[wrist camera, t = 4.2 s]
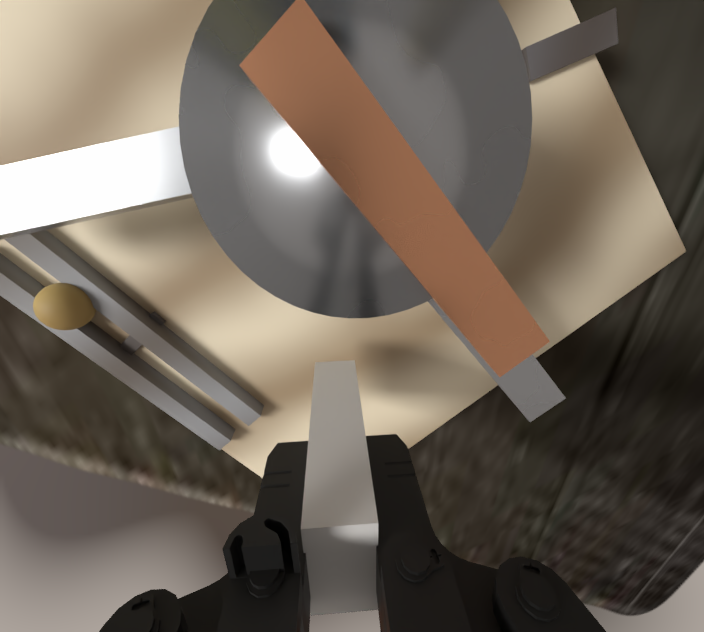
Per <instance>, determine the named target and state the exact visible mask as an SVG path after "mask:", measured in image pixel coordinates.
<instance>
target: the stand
mask: <svg viewBox="0 0 704 632" xmlns="http://www.w3.org/2000/svg"><path fill="white" fill-rule="evenodd" d="M212 1H213V0H0V166H3V165H8V164H12V163H17V162H21V161H26V160H30V159H35V158H39V157H44V156H48V155H53V154H57V153H62V152H66V151H71V150H75V149H80V148H84V147H89V146H93V145H98V144H102V143H107V142H111V141H116V140H120V139H125V138H129V137H134V136H138V135H143V134H147V133H152V132H156V131H161V130H165V129H170V128H174V127H179V104H180V90H181V84H182V79H183V74H184V69H185V64H186V59H187V56H188V53H189V51H190V48H191V45H192V42H193V39H194V36H195V33H196V31H197V29H198V27H199V25H200V23H201V21H202V19H203V17H204V15H205V13H206V11H207V9H208V7H209V5H210V4H211V3H212ZM498 2H499V3H500V5H501V6H502V8H503V10H504V11H505V13H506V14H507V16H508V19H509V21H510V23H511V25H512V27H513V30H514V32H515V34H516V36H517V39H518V41H519V44H520V48H521V51H522V54H523V57H524V61H525V64H526V68H527V73H528V79H529V85H530V91H531V103H532V134H531V147H530V153H529V158H528V164H527V170H526V173H525V177H524V180H523V184H522V187H521V190H520V193H519V196H518V198H517V201H516V203H515V206H514V208H513V210H512V213H511V215H510V217H509V219H508V220H507V222H506V224H505V226H504V228H503V230H502V231H501V233H500V235H499V236H498V238H497V239H496V240H495V242H494V243H493V245H492V246H491V248H490V249H489V250H488V252H487V254H488V256H489V257H490V259H491V260H492V261H493V263H494V264H495V266H496V267H497V268H498V270H499V271H500V273H501V274H502V275H503V277H504V278H505V279H506V281H507V282H508V284H509V285H510V286H511V288H512V289H513V291H514V292H515V293H516V295H517V296H518V298H519V299H520V300H521V302H522V303H523V304H524V306H525V307H526V309H527V310H528V311H529V313H530V314H531V316H532V317H533V318H534V320H535V321H536V323H537V324H538V325H539V327H540V328H541V330H542V331H543V332H544V334H545V335H546V336H547V338H548V339H549V341H550V342H549V343H547V344H546V345H545V346H543V347H542V348H540V349H539V350H538V351H536V352H535V353H533V356H534V357H535V358H537V357H538V356H540V355H541V354H542V353H544V352H545V351H547V350H548V349H549V348H551V347H552V346H554V345H555V344H556V343H558V342H559V341H561V340H562V339H564V338H565V337H566V336H568V335H569V334H571V333H572V332H573V331H575V330H576V329H578V328H579V327H580V326H582V325H583V324H585V323H586V322H587V321H589V320H590V319H592V318H593V317H594V316H596V315H597V314H599V313H600V312H601V311H603V310H604V309H606V308H607V307H609V306H610V305H611V304H613V303H614V302H616V301H617V300H618V299H620V298H621V297H623V296H624V295H625V294H627V293H628V292H630V291H631V290H632V289H634V288H635V287H637V286H638V285H639V284H641V283H642V282H644V281H645V280H646V279H648V278H649V277H651V276H652V275H654V274H655V273H656V272H658V271H659V270H661V269H662V268H663V267H665V266H666V265H668V264H669V263H670V262H672V261H673V260H675V259H676V258H677V257H679V256H680V255H682V254H683V253H684V252H686V250H685V247H684V245H683V243H682V241H681V239H680V237H679V234H678V232H677V230H676V228H675V226H674V224H673V222H672V219H671V217H670V215H669V213H668V211H667V209H666V206H665V204H664V202H663V200H662V198H661V196H660V194H659V191H658V189H657V187H656V185H655V183H654V181H653V178H652V176H651V174H650V172H649V170H648V168H647V166H646V163H645V161H644V159H643V157H642V155H641V153H640V150H639V148H638V146H637V144H636V142H635V140H634V138H633V135H632V133H631V131H630V129H629V127H628V125H627V122H626V120H625V118H624V116H623V114H622V112H621V110H620V107H619V105H618V103H617V101H616V99H615V97H614V94H613V92H612V90H611V88H610V86H609V84H608V81H607V79H606V77H605V75H604V73H603V71H602V69H601V66H600V64H599V62H598V60H597V58H596V56H595V54H596V53H598V52H600V51H603V50H605V49H607V48H610V47H612V46H614V45H616V44H618V30H617V15H616V8H614V9H611V10H609V11H607V12H605V13H602V14H600V15H598V16H595V17H593V18H591V19H589V20H586V21H584V22H582V23H580V21H579V19H578V17H577V15H576V13H575V10H574V8H573V6H572V4H571V2H570V0H498ZM0 296H2V297H3V298H5V299H6V300H8V301H9V302H10V303H12V304H13V305H15V306H16V307H17V308H19V309H20V310H22V311H23V312H25V313H26V314H27V315H29V316H30V317H32V318H33V319H34V320H36V321H37V322H39V323H40V324H41V325H43V326H44V327H46V328H47V329H49V330H50V331H51V332H53V333H54V334H56V335H57V336H58V337H60V338H61V339H63V340H64V341H65V342H67V343H68V344H70V345H71V346H73V347H74V348H75V349H77V350H78V351H80V352H81V353H82V354H84V355H85V356H87V357H88V358H89V359H91V360H92V361H94V362H95V363H97V364H98V365H99V366H101V367H102V368H104V369H105V370H106V371H108V372H109V373H111V374H112V375H113V376H115V377H116V378H118V379H119V380H121V381H122V382H123V383H125V384H126V385H128V386H129V387H130V388H132V389H133V390H135V391H136V392H137V393H139V394H140V395H142V396H143V397H145V398H146V399H147V400H149V401H150V402H152V403H153V404H154V405H156V406H157V407H159V408H160V409H162V410H163V411H164V412H166V413H167V414H169V415H170V416H171V417H173V418H174V419H176V420H177V421H178V422H180V423H181V424H183V425H184V426H186V427H187V428H188V429H190V430H191V431H193V432H194V433H195V434H197V435H198V436H200V437H201V438H202V439H204V440H205V441H207V442H208V443H210V444H211V445H212V446H214V447H215V448H217V449H218V450H221V449H222V450H224V451H225V452H227V453H228V454H229V455H231V456H232V457H234V458H235V459H236V460H238V461H239V462H241V463H242V464H243V465H245V466H246V467H248V468H249V469H250V470H252V471H253V472H255V473H256V474H257V475H259V476H260V477H262V478H263V475H264V470H265V466H266V461H267V457H268V455H269V454H270V453H271V451H272V450H273V449H274V447H275V446H276V445H277V443H282V442H297V441H308V438H309V427H310V415H311V404H312V392H313V380H314V369H315V362H330V361H349V360H355V366H356V373H357V380H358V387H359V394H360V400H361V407H362V414H363V421H364V428H365V435H366V436H372V435H388V434H397V435H398V436H399V437H400V439H401V440H402V441H403V442H404V443H405V444H406V445H407V448H408V449H409V448H410V447H412V446H413V445H414V444H416V443H417V442H419V441H420V440H421V439H423V438H424V437H426V436H427V435H428V434H430V433H431V432H433V431H434V430H436V429H437V428H438V427H440V426H441V425H443V424H444V423H445V422H447V421H448V420H450V419H451V418H452V417H454V416H455V415H457V414H458V413H459V412H461V411H462V410H464V409H465V408H466V407H468V406H469V405H471V404H472V403H474V402H475V401H476V400H478V399H479V398H481V397H482V396H483V395H485V394H486V393H488V392H489V391H490V390H492V389H493V388H495V387H496V386H497V385H498V384H497V383H496V382H495V381H494V379H493V378H492V377H491V376H490V375H489V374H488V372H487V371H486V370H485V369H484V368H483V366H482V365H481V364H480V363H479V362H478V361H477V359H476V358H475V357H474V356H473V355H472V353H471V352H470V351H469V350H468V349H467V348H466V346H465V345H464V344H463V343H462V342H461V340H460V339H459V338H458V337H457V336H456V335H455V333H454V332H453V331H452V330H451V329H450V327H449V326H448V325H447V324H446V323H445V322H444V320H443V319H442V318H441V317H440V316H439V314H438V313H437V312H436V311H435V310H434V309H433V307H432V306H431V305H430V304H429V303H428V301H427V302H425V303H423V304H420V305H418V306H415V307H413V308H411V309H408V310H405V311H401V312H398V313H394V314H391V315H386V316H379V317H372V318H340V317H331V316H326V315H322V314H317V313H313V312H310V311H307V310H304V309H301V308H298V307H296V306H293V305H291V304H289V303H287V302H285V301H283V300H281V299H279V298H277V297H275V296H274V295H272V294H270V293H269V292H267V291H266V290H264V289H263V288H261V287H260V286H258V285H257V284H256V283H255V282H254V281H252V280H251V279H250V278H249V277H248V276H246V275H245V274H244V273H243V272H242V271H241V270H240V269H239V268H238V267H237V266H236V265H235V264H234V263H233V262H232V261H231V259H230V258H229V257H228V256H227V255H226V254H225V252H224V251H223V250H222V248H221V247H220V246H219V244H218V243H217V242H216V240H215V239H214V237H213V236H212V234H211V232H210V231H209V229H208V227H207V225H206V224H205V222H204V220H203V218H202V217H201V214H200V212H199V210H198V207H197V205H196V203H195V200H194V198H189V199H185V200H180V201H175V202H171V203H166V204H162V205H157V206H153V207H148V208H143V209H139V210H134V211H130V212H125V213H121V214H116V215H112V216H107V217H102V218H98V219H93V220H89V221H84V222H80V223H75V224H70V225H66V226H61V227H57V228H52V229H48V230H43V231H39V232H34V233H29V234H25V235H20V236H16V237H11V238H7V239H2V240H0Z"/></svg>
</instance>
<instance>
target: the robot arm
mask: <svg viewBox="0 0 704 632" xmlns="http://www.w3.org/2000/svg"><path fill="white" fill-rule="evenodd" d="M223 553H224V556H225V561H226V565H227V569H228V573H227V574H226V575H225V576H224V577H222V578H221V579H220V580H218V581H216V582H215V583H213V584H211V585H209V586H207V587H205V588H203V589H200V590H198V591H196V592H193V593H191V594H189V595H186V596H184V597H182V598H179V599H177V597H176V595H175V594H173V593H171V592H169V591H167V590H166V589H159V590H150V591H147V592H145V593H142V594H140V595H137V596H135V597H134V598H132V599H131V600H130V601H128V602H127V603H126V604H124V605H123V606H122V607H120V608H119V609H118V610H117V611H116V612H115V613H114V614H113V615H112V617H111V618H110V619H109V620H108V621H107V622H106V623H105V625H104V626H103V627H102V628H101V630H100V631H99V632H309V623H310V613H311V616H312V615H323V614H334V613H346V612H357V611H368V610H377V609H378V611H379V620H380V628H381V632H606V631H605V630H604V629H603V627H602V626H601V625H600V624H599V622H598V621H597V620H596V619H595V618H594V616H593V615H592V614H591V613H590V612H589V610H588V609H587V608H586V607H585V606H584V604H583V603H582V602H581V601H580V599H579V598H578V597H577V596H576V595H575V593H574V592H573V591H572V590H571V589H570V587H569V586H568V585H567V584H566V583H565V582H564V581H563V580H562V579H561V578H560V577H559V576H558V575H557V574H556V573H555V572H554V571H553V570H552V569H550V568H548V567H547V566H545V565H543V564H542V563H540V562H538V561H537V560H533V559H529V558H525V557H516V558H509V559H508V560H506V561H505V562H504V563H502V564H501V565H500V567H499V569H494V568H491V567H487V566H483V565H479V564H476V563H472V562H469V561H466V560H464V559H461V558H459V557H457V556H456V555H454V554H452V553H451V552H449V551H448V550H447V549H446V548H445V547H444V546H443V545H442V544H441V543H440V541H439V540H438V539H437V537H436V536H435V534H434V531H433V529H432V527H431V524H430V520H429V517H428V514H427V510H426V507H425V504H424V501H423V497H422V494H421V491H420V487H419V484H418V481H417V477H416V476H415V471H414V467H413V464H412V461H411V458H410V454H409V451H408V448H407V445H406V444H405V443H404V442H403V441H402V440H401V439H400V437H399V436H398V435H397V434H388V435H372V436H366V435H365V428H364V421H363V414H362V407H361V400H360V394H359V387H358V380H357V373H356V366H355V360H349V361H330V362H315V369H314V380H313V392H312V404H311V415H310V427H309V438H308V441H297V442H282V443H277V445H276V446H275V447H274V449H273V450H272V451H271V453H270V454H269V455H268V457H267V461H266V466H265V470H264V475H263V478H262V483H261V489H260V491H259V495H258V500H257V504H256V508H255V513H254V516H252V517H250V518H248V519H247V520H245V521H243V522H242V523H240V524H239V525H238V526H237V527H236V528H235V529H234V531H233V532H232V533H231V534H230V535H229V537H228V539H227V541H226V543H225V545H224V547H223Z"/></svg>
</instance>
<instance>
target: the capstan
mask: <svg viewBox="0 0 704 632" xmlns="http://www.w3.org/2000/svg"><path fill="white" fill-rule="evenodd" d="M531 134H532V103H531V91H530V85H529V79H528V73H527V68H526V64H525V61H524V57H523V54H522V51H521V48H520V44H519V41H518V39H517V36H516V34H515V32H514V30H513V27H512V25H511V23H510V21H509V19H508V16H507V14H506V13H505V11H504V10H503V8H502V6H501V5H500V3H499V2H498V0H213V1H212V3H211V4H210V5H209V7H208V9H207V11H206V13H205V15H204V17H203V19H202V21H201V23H200V25H199V27H198V29H197V31H196V33H195V36H194V39H193V42H192V45H191V48H190V51H189V53H188V56H187V59H186V64H185V69H184V74H183V79H182V84H181V90H180V104H179V127H174V128H170V129H165V130H161V131H156V132H152V133H147V134H143V135H138V136H134V137H129V138H125V139H120V140H116V141H111V142H107V143H102V144H98V145H93V146H89V147H84V148H80V149H75V150H71V151H66V152H62V153H57V154H53V155H48V156H44V157H39V158H35V159H30V160H26V161H21V162H17V163H12V164H8V165H3V166H0V240H2V239H7V238H11V237H16V236H20V235H25V234H29V233H34V232H39V231H43V230H48V229H52V228H57V227H61V226H66V225H70V224H75V223H80V222H84V221H89V220H93V219H98V218H102V217H107V216H112V215H116V214H121V213H125V212H130V211H134V210H139V209H143V208H148V207H153V206H157V205H162V204H166V203H171V202H175V201H180V200H185V199H189V198H194V200H195V203H196V205H197V207H198V210H199V212H200V214H201V217H202V218H203V220H204V222H205V224H206V225H207V227H208V229H209V231H210V232H211V234H212V236H213V237H214V239H215V240H216V242H217V243H218V244H219V246H220V247H221V248H222V250H223V251H224V252H225V254H226V255H227V256H228V257H229V258H230V259H231V261H232V262H233V263H234V264H235V265H236V266H237V267H238V268H239V269H240V270H241V271H242V272H243V273H244V274H245V275H246V276H248V277H249V278H250V279H251V280H252V281H254V282H255V283H256V284H257V285H258V286H260V287H261V288H263V289H264V290H266V291H267V292H269V293H270V294H272V295H274V296H275V297H277V298H279V299H281V300H283V301H285V302H287V303H289V304H291V305H293V306H296V307H298V308H301V309H304V310H307V311H310V312H313V313H317V314H322V315H326V316H331V317H340V318H372V317H379V316H386V315H391V314H394V313H398V312H401V311H405V310H408V309H411V308H413V307H415V306H418V305H420V304H423V303H425V302H427V301H428V303H429V304H430V305H431V306H432V307H433V309H434V310H435V311H436V312H437V313H438V314H439V316H440V317H441V318H442V319H443V320H444V322H445V323H446V324H447V325H448V326H449V327H450V329H451V330H452V331H453V332H454V333H455V335H456V336H457V337H458V338H459V339H460V340H461V342H462V343H463V344H464V345H465V346H466V348H467V349H468V350H469V351H470V352H471V353H472V355H473V356H474V357H475V358H476V359H477V361H478V362H479V363H480V364H481V365H482V366H483V368H484V369H485V370H486V371H487V372H488V374H489V375H490V376H491V377H492V378H493V379H494V381H495V382H496V383H497V384H498V385H499V387H500V388H501V389H502V390H503V391H504V392H505V394H506V395H507V396H508V397H509V398H510V399H511V401H512V402H513V403H514V404H515V405H516V406H517V408H518V409H519V410H520V411H521V412H522V413H523V415H524V416H525V417H526V418H527V419H528V420H529V422H531V421H533V420H534V419H536V418H537V417H539V416H540V415H542V414H543V413H545V412H546V411H548V410H549V409H551V408H552V407H554V406H555V405H557V404H558V403H560V402H561V401H563V400H564V399H566V398H565V396H564V395H563V394H562V392H561V391H560V390H559V389H558V387H557V386H556V385H555V383H554V382H553V381H552V379H551V378H550V377H549V375H548V374H547V373H546V371H545V370H544V369H543V367H542V366H541V365H540V363H539V362H538V361H537V359H536V358H535V357H534V356H533V353H535V352H536V351H538V350H539V349H540V348H542V347H543V346H545V345H546V344H547V343H549V342H550V341H549V339H548V338H547V336H546V335H545V334H544V332H543V331H542V330H541V328H540V327H539V325H538V324H537V323H536V321H535V320H534V318H533V317H532V316H531V314H530V313H529V311H528V310H527V309H526V307H525V306H524V304H523V303H522V302H521V300H520V299H519V298H518V296H517V295H516V293H515V292H514V291H513V289H512V288H511V286H510V285H509V284H508V282H507V281H506V279H505V278H504V277H503V275H502V274H501V273H500V271H499V270H498V268H497V267H496V266H495V264H494V263H493V261H492V260H491V259H490V257H489V256H488V254H487V252H488V250H489V249H490V248H491V246H492V245H493V243H494V242H495V240H496V239H497V238H498V236H499V235H500V233H501V231H502V230H503V228H504V226H505V224H506V222H507V220H508V219H509V217H510V215H511V213H512V210H513V208H514V206H515V203H516V201H517V198H518V196H519V193H520V190H521V187H522V184H523V180H524V177H525V173H526V170H527V164H528V158H529V153H530V147H531Z"/></svg>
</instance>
